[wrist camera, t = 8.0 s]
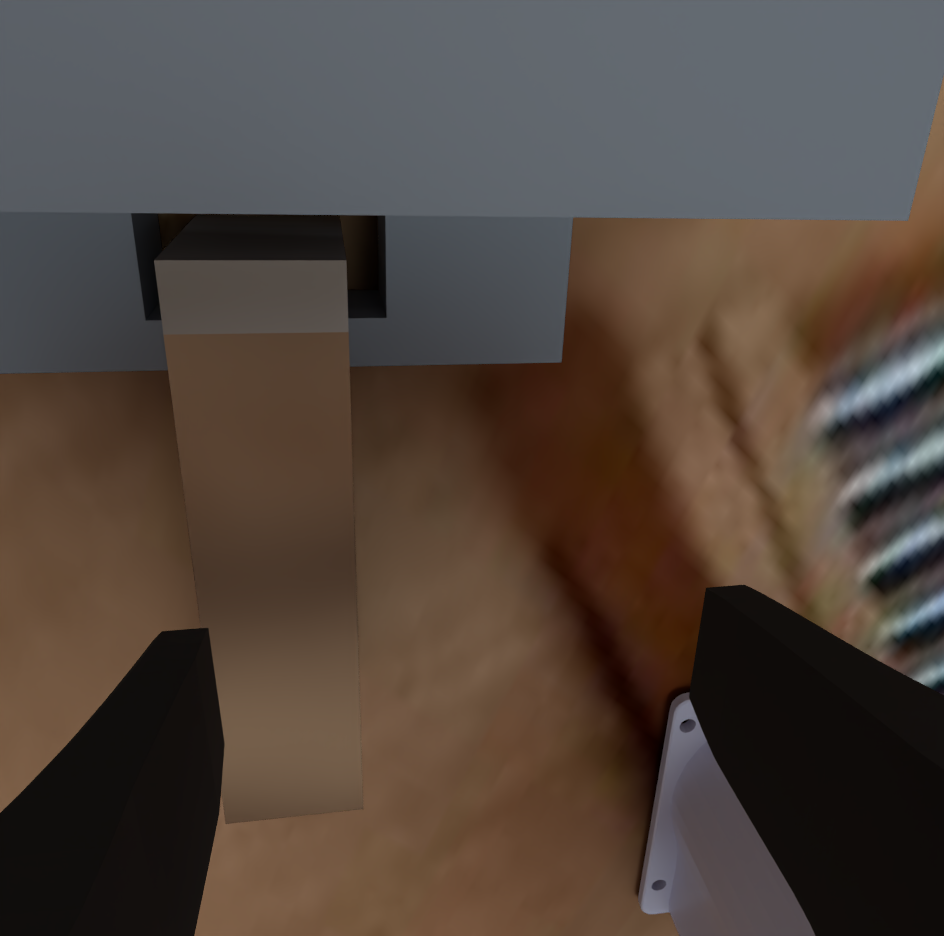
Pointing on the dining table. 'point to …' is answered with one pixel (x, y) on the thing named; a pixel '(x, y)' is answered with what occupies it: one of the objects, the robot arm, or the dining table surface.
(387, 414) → the dining table surface
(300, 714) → the wooden arch block
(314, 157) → the grey slotted stand
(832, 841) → the robot arm
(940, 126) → the dining table surface
